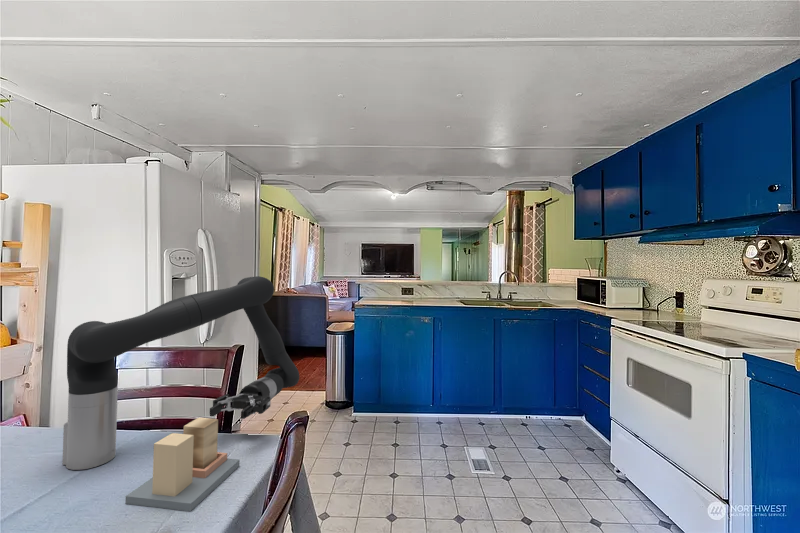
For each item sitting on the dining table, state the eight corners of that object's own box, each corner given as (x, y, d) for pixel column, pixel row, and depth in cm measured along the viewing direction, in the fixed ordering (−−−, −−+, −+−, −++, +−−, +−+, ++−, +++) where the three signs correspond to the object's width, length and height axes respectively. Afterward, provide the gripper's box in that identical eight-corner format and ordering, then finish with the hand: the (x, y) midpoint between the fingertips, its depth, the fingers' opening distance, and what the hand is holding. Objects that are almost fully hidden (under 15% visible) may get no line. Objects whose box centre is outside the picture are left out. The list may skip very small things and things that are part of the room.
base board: (125, 503, 74) (127, 445, 74) (185, 460, 91) (186, 413, 91) (190, 511, 72) (192, 451, 72) (239, 465, 89) (240, 417, 89)
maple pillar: (182, 471, 83) (183, 426, 83) (197, 460, 88) (198, 417, 88) (202, 473, 83) (204, 428, 83) (216, 462, 88) (218, 419, 88)
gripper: (236, 379, 112) (201, 397, 96) (281, 382, 110) (253, 401, 94) (236, 404, 112) (200, 426, 96) (281, 407, 110) (252, 430, 94)
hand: (226, 413), depth 95 cm, fingers open, 8 cm apart
